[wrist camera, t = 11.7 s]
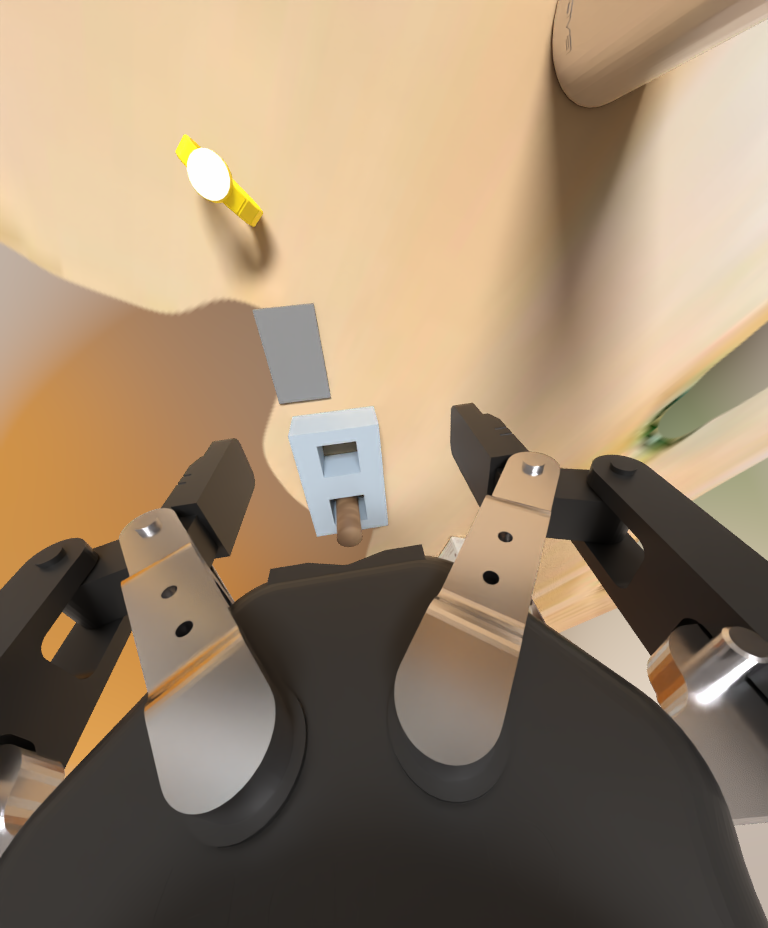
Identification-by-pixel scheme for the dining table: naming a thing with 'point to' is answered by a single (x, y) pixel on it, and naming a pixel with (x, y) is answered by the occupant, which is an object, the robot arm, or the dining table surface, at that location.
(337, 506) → the dowel
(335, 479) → the hole block
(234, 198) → the watch
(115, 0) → the dining table surface
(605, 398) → the dining table surface
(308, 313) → the mat
